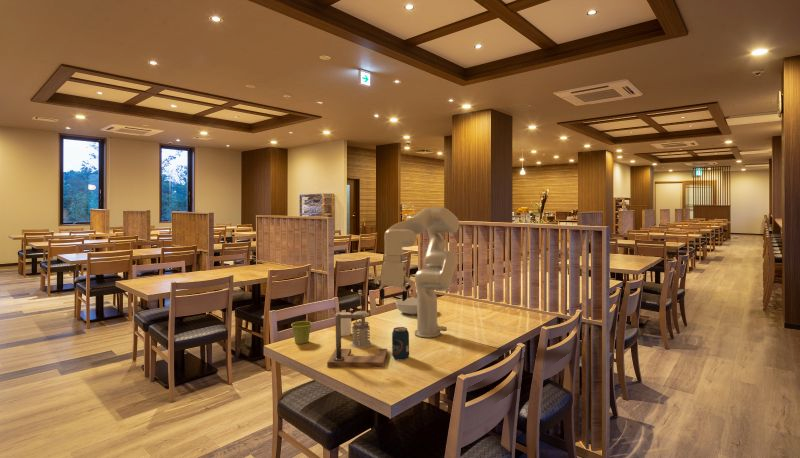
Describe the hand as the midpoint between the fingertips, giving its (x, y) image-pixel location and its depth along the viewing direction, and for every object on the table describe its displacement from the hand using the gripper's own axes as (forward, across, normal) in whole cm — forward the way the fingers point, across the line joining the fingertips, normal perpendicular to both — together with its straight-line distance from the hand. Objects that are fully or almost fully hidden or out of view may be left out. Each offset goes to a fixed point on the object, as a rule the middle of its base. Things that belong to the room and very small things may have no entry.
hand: (393, 299), depth 183 cm
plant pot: (+23, +46, -4) cm, 51 cm away
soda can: (+23, -5, +4) cm, 24 cm away
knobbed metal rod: (+22, +12, +17) cm, 30 cm away
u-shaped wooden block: (+23, +11, +11) cm, 28 cm away
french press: (+23, +18, -7) cm, 30 cm away
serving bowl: (+20, +10, -70) cm, 74 cm away
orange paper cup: (+22, +32, -20) cm, 44 cm away
